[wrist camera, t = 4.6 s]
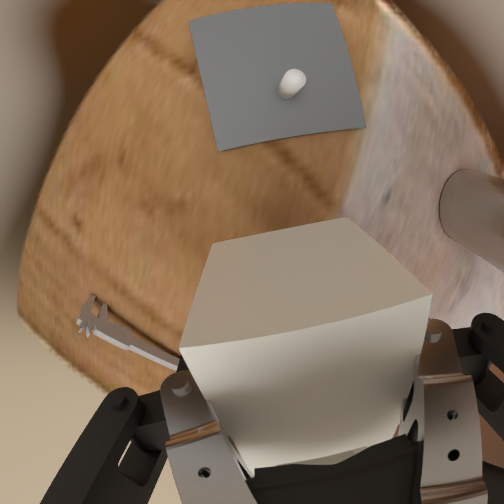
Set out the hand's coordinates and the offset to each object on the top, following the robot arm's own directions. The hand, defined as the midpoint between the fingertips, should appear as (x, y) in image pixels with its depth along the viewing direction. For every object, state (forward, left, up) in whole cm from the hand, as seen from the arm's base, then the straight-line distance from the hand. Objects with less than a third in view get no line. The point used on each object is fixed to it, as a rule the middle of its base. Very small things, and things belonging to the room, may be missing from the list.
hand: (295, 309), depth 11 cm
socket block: (0, +3, -1) cm, 3 cm away
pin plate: (-4, -13, -17) cm, 22 cm away
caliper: (+17, +14, -17) cm, 28 cm away
